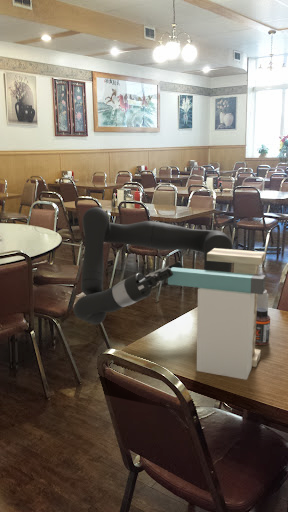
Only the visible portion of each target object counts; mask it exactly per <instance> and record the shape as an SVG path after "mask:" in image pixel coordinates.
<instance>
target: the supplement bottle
mask: <svg viewBox="0 0 288 512" xmlns="http://www.w3.org/2000/svg"><path fill="white" fill-rule="evenodd" d="M268 312H269V309H268V310H267V309H266V308H263V307H257V316H256V338H255V346H266V345H268V344H269V342H270V341H269V340H270V332H271V328H270V327H271V317H270V316H269V313H268Z"/></svg>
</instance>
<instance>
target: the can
mask: <svg viewBox="0 0 288 512" xmlns="http://www.w3.org/2000/svg"><path fill="white" fill-rule="evenodd" d="M269 297H270V296H269V293H268V290H267V289H265V291H264V292H263V294H257V307H263V308H266V309H267V310H268V311H269Z"/></svg>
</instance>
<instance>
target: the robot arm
mask: <svg viewBox="0 0 288 512" xmlns="http://www.w3.org/2000/svg"><path fill="white" fill-rule="evenodd" d="M81 222H82V233H83V234H84V252H83V261H82V267H81V268H82V270H81V271H82V272H81V279H80V281H81V282H80V290H81V292H82V293H83V294H84V296H81V297H80V298H79V299H78V300H77V301H76V302H75V303H74V305H73V313H74V316H75V317H77V318H78V319H79V320H81V321H84V322H86V323H89V324H91V325H100V324H102V323H103V322H104V320H105V319H106V316H107V313H114V312H117V311H119V310H121V309H123V308H125V307H127V306H128V307H129V306H131V305H133V304H136V303H137V302H139V301H141V300H144V299H146V298H148V297H149V296H151V293H152V289H153V288H155V287H157V286H158V285H160V284H161V282H163V281H165V280H168V278H169V277H171V276H172V275H173V273H172V271H171V268H172V267H176V268H184V266H183V264H182V262H181V261H177V262H175V263H173V264H171V265H166V267H163V268H158V269H157V270H155V271H152V272H149V273H148V274H147V275H144V274H143V273H140V272H137V273H135V274H133V275H131V276H129V277H127V278H125V279H123V280H122V281H119V282H117V284H115V285H113V286H111V287H109V288H107V289H106V290H104V273H105V267H104V265H105V263H104V245H105V243H109V244H110V243H111V244H124V245H129V246H135V247H137V246H138V247H143V248H149V249H155V250H160V251H161V250H162V251H163V250H165V251H177V250H192V251H195V252H201V253H203V254H204V256H203V257H204V258H203V260H204V261H203V270H210V271H221V272H232V265H233V263H229V262H217V261H207V253H209V252H210V251H211V250H212V249H214V248H218V249H232V250H233V243H232V241H231V239H230V238H229V237H230V236H228V234H226V233H225V232H223V231H222V230H221V231H220V230H215V229H213V230H212V229H210V230H209V229H194V228H189V227H185V226H180V225H177V224H176V225H175V224H172V223H171V224H170V223H167V222H166V223H165V222H160V221H153V220H145V221H139V222H134V223H129V224H120V223H115V222H110V217H109V214H108V213H107V211H106V210H105V209H103V208H101V207H98V206H97V207H96V206H95V207H91V208H89V209H87V210H86V211H85V212H84V214H83V216H82V220H81Z"/></svg>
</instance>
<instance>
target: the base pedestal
mask: <svg viewBox="0 0 288 512" xmlns="http://www.w3.org/2000/svg"><path fill="white" fill-rule="evenodd" d="M254 298H255V294H254V293H246V292H237V291H227V290H217V289H208V288H198V289H197V318H196V319H197V323H196V324H197V327H196V328H197V330H196V331H197V332H196V335H197V337H196V372H200V373H201V372H202V373H206V374H207V373H208V374H213V375H219V376H224V377H229V378H235V379H241V380H245V381H246V380H248V378H249V376H250V374H251V371H252V367H253V366H252V344H253V321H254Z"/></svg>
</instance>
